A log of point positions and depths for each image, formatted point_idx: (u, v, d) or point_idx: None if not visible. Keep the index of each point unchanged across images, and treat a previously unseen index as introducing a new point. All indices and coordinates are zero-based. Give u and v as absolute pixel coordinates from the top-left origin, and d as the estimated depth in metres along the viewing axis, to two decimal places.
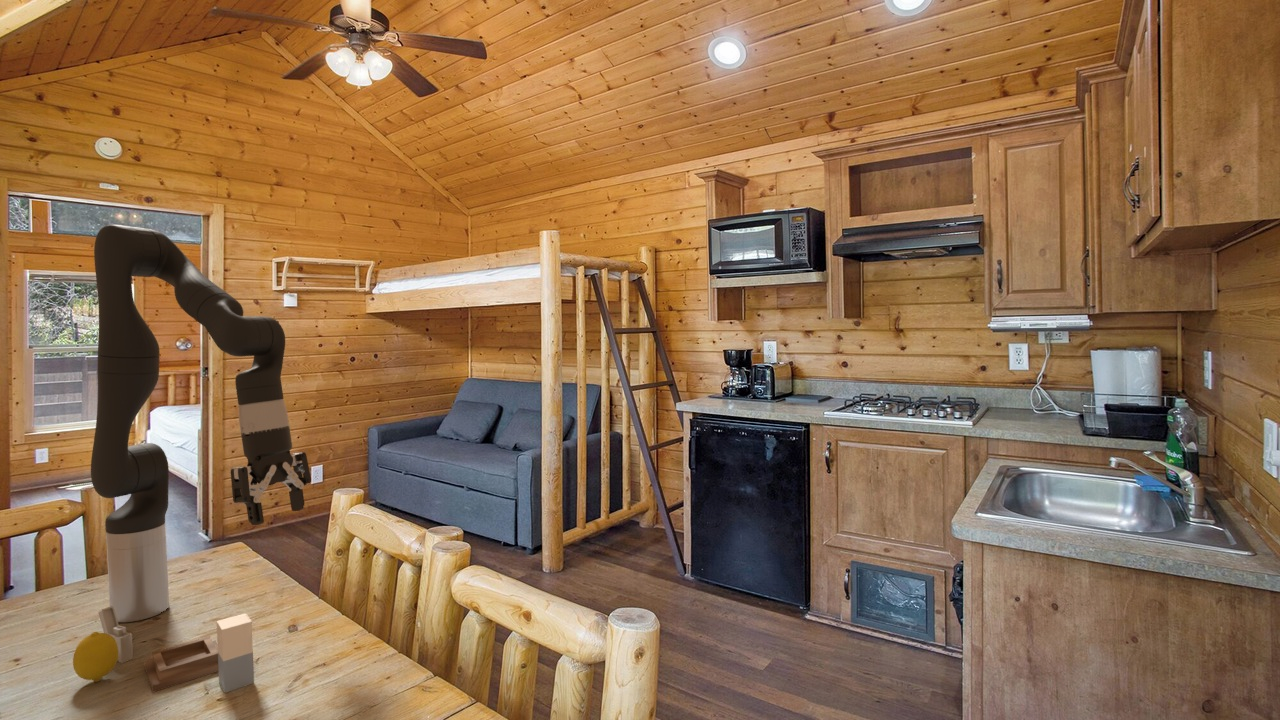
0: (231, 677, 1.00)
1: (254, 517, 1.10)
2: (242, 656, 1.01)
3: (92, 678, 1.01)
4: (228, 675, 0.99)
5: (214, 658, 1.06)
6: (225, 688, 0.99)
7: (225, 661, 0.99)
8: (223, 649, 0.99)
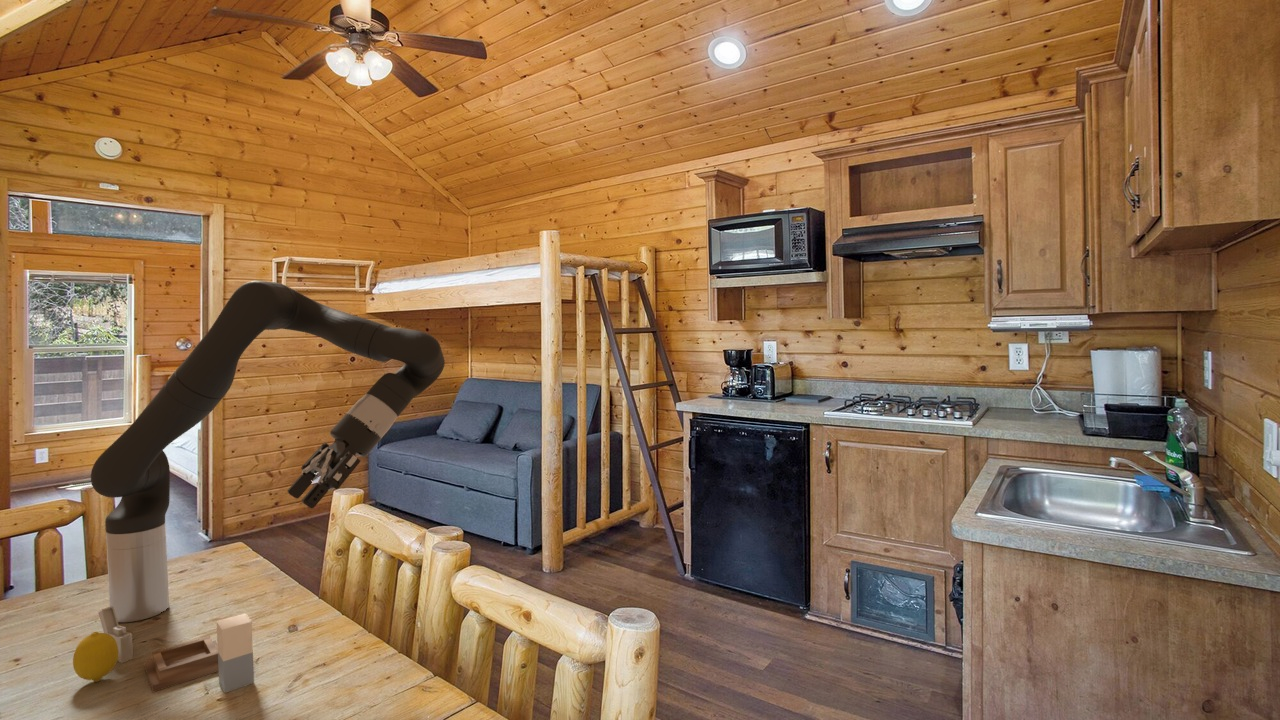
0: (231, 677, 1.00)
1: (317, 501, 1.06)
2: (242, 656, 1.01)
3: (92, 678, 1.01)
4: (228, 675, 0.99)
5: (214, 658, 1.06)
6: (225, 688, 0.99)
7: (225, 661, 0.99)
8: (223, 649, 0.99)
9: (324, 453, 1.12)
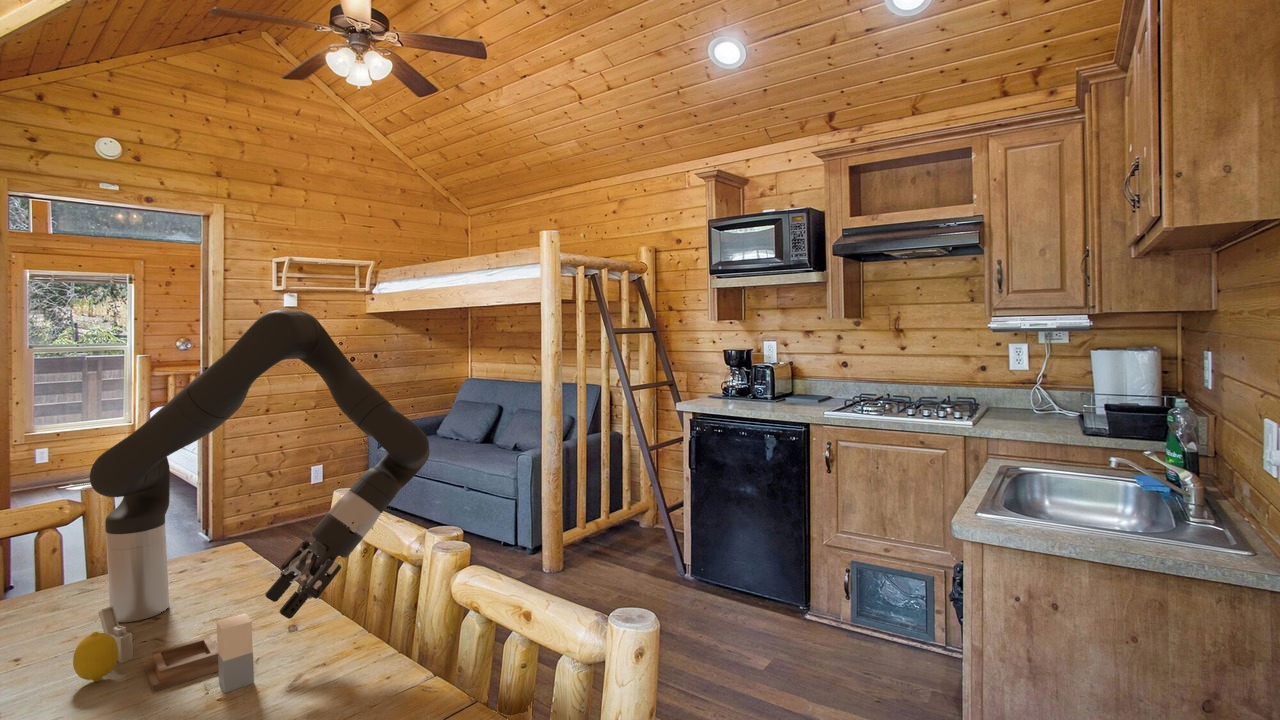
0: (231, 677, 1.00)
1: (296, 611, 1.03)
2: (242, 656, 1.01)
3: (92, 678, 1.01)
4: (228, 675, 0.99)
5: (214, 658, 1.06)
6: (225, 688, 0.99)
7: (225, 661, 0.99)
8: (223, 649, 0.99)
9: (304, 555, 1.09)
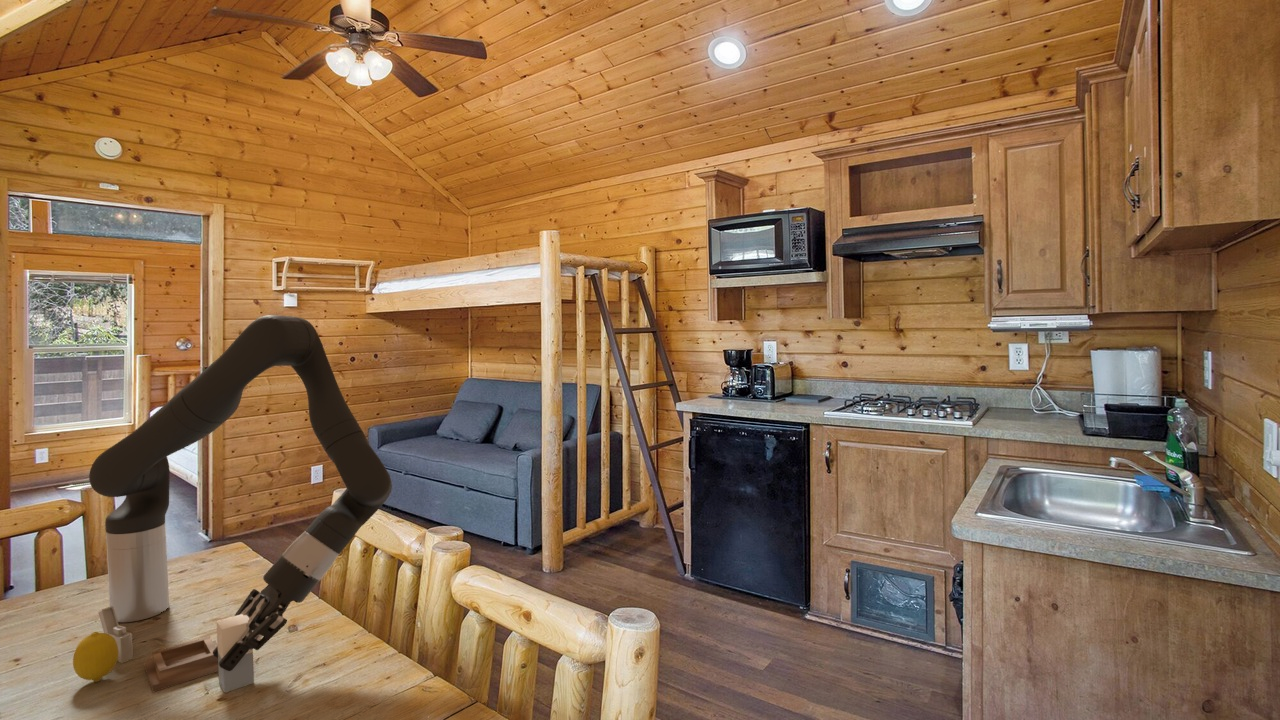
0: (230, 676, 1.00)
1: (236, 663, 0.99)
2: None
3: (92, 678, 1.01)
4: (228, 675, 0.99)
5: (214, 658, 1.06)
6: (225, 688, 0.99)
7: None
8: (223, 649, 0.99)
9: (257, 600, 1.04)
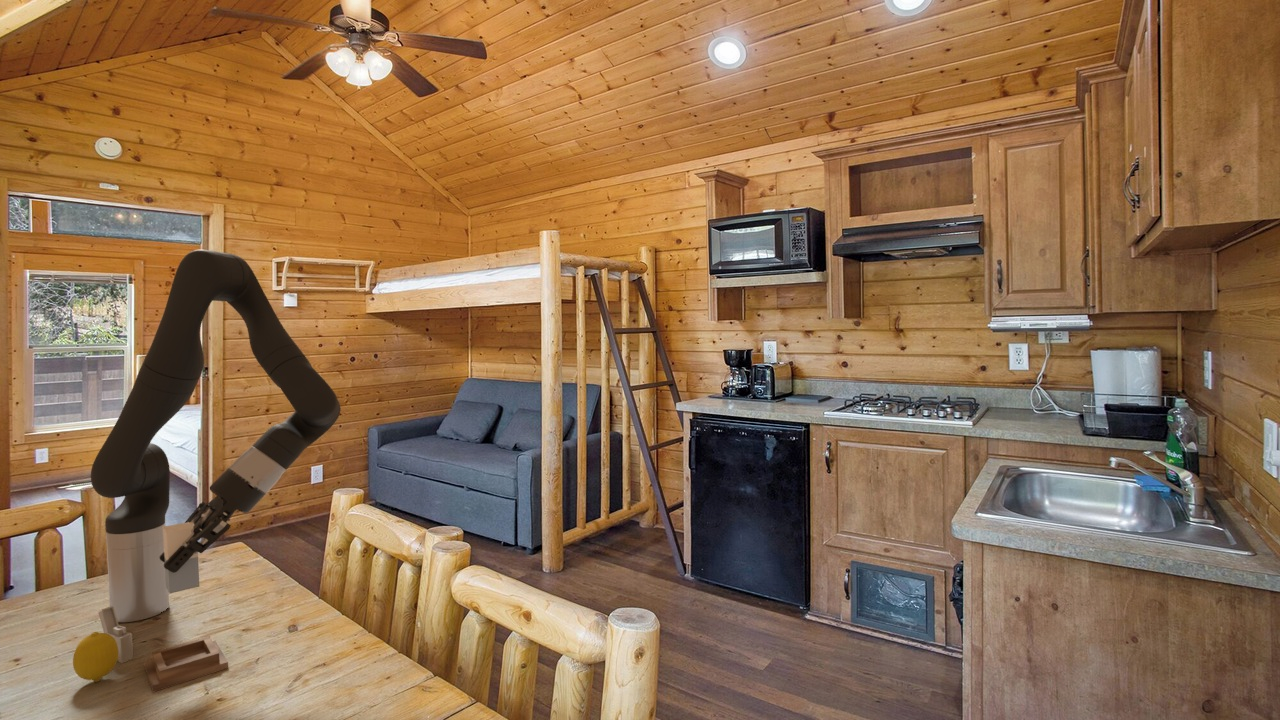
0: (176, 578, 1.03)
1: (180, 565, 1.03)
2: None
3: (92, 678, 1.01)
4: (173, 577, 1.03)
5: (214, 658, 1.06)
6: (170, 589, 1.03)
7: None
8: (168, 551, 1.03)
9: (203, 509, 1.08)
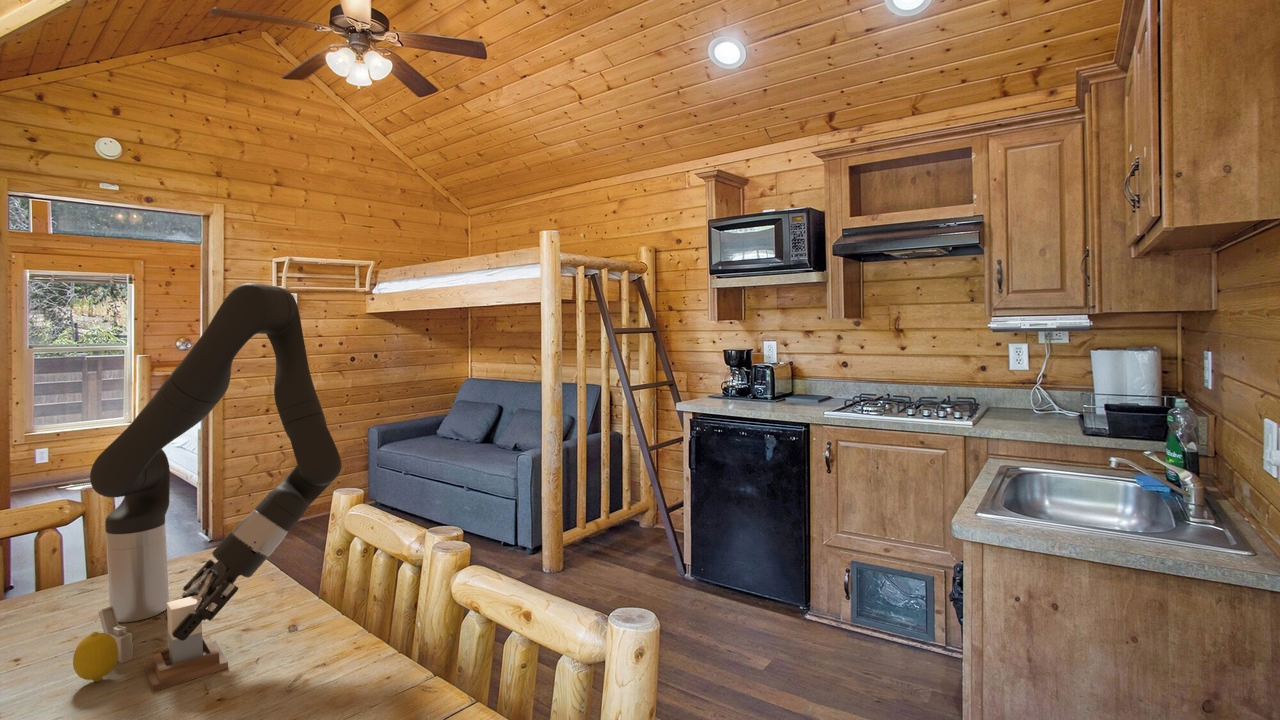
0: (180, 655, 1.04)
1: (189, 633, 1.03)
2: (192, 636, 1.05)
3: (92, 678, 1.01)
4: (177, 654, 1.04)
5: (214, 658, 1.06)
6: None
7: (174, 640, 1.04)
8: (172, 629, 1.03)
9: (205, 575, 1.09)
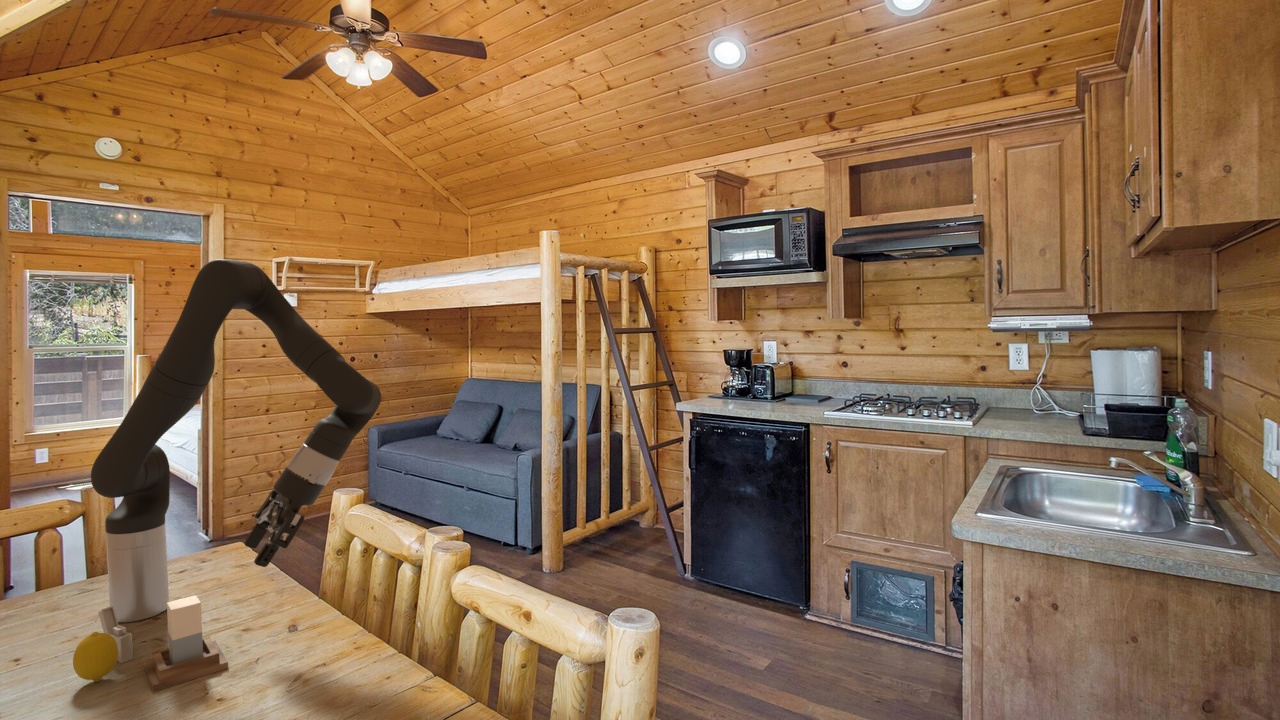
0: (180, 655, 1.04)
1: (269, 560, 1.11)
2: (192, 636, 1.05)
3: (92, 678, 1.01)
4: (177, 654, 1.04)
5: (214, 658, 1.06)
6: None
7: (174, 640, 1.04)
8: (172, 629, 1.03)
9: (271, 507, 1.16)
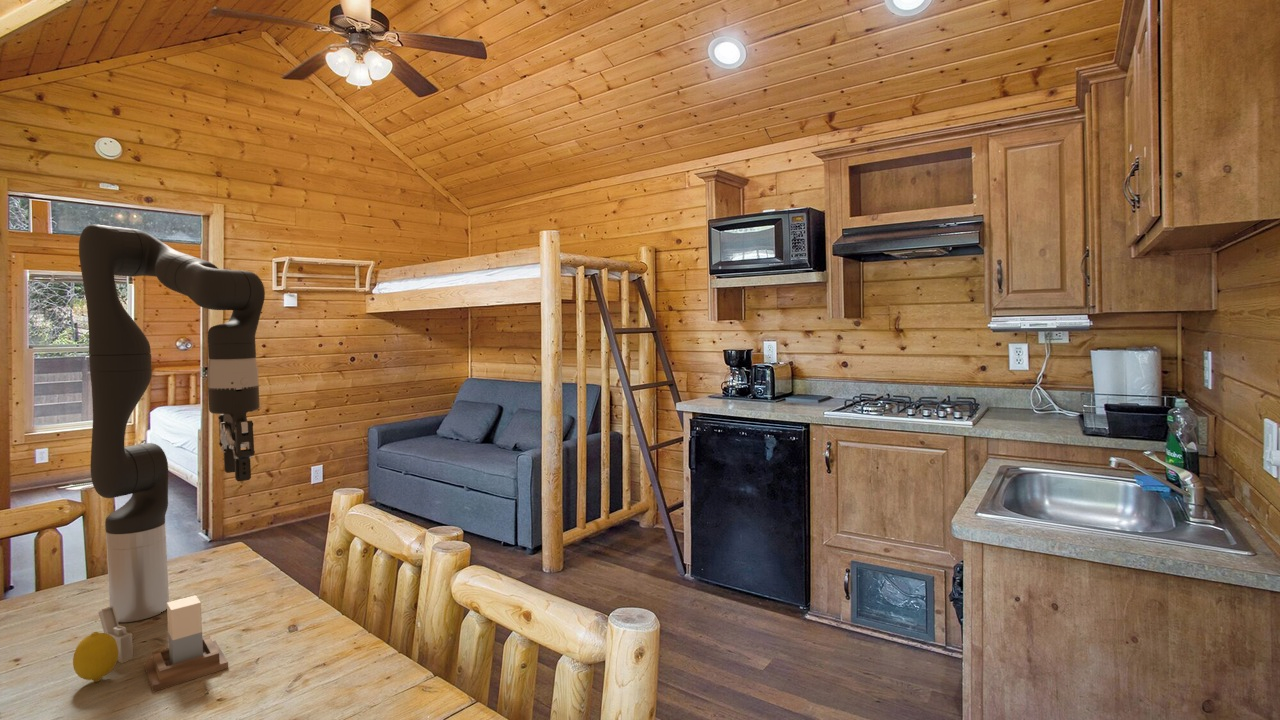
0: (180, 655, 1.04)
1: (248, 472, 1.10)
2: (192, 636, 1.05)
3: (92, 678, 1.01)
4: (177, 654, 1.04)
5: (214, 658, 1.06)
6: None
7: (174, 640, 1.04)
8: (172, 629, 1.03)
9: (222, 429, 1.12)
